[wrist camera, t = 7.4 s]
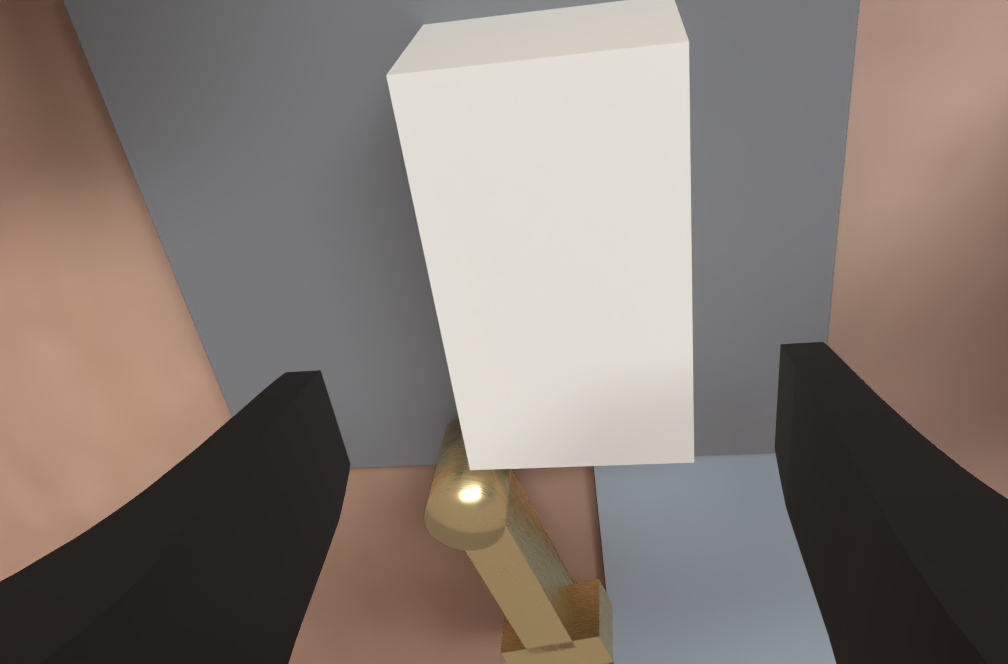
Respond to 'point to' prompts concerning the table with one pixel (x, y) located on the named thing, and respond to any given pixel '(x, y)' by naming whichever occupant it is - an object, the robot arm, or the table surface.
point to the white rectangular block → (557, 228)
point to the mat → (706, 565)
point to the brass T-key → (517, 562)
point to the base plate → (390, 210)
